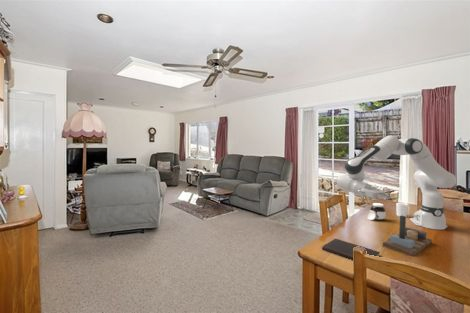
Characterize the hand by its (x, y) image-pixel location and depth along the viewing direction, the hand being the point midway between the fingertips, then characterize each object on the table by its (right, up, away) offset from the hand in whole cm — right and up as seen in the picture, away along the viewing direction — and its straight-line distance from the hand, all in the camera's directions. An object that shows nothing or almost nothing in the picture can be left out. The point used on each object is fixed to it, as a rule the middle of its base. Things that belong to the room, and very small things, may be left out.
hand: (388, 198), depth 130 cm
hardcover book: (-26, -28, -9) cm, 39 cm away
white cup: (+46, -24, +53) cm, 74 cm away
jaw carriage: (+4, -24, -4) cm, 25 cm away
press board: (+11, -26, 0) cm, 29 cm away
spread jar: (+20, -24, +44) cm, 54 cm away
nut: (+16, -24, +4) cm, 30 cm away
